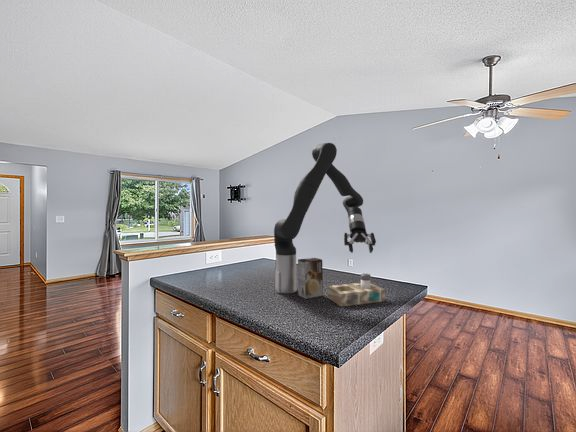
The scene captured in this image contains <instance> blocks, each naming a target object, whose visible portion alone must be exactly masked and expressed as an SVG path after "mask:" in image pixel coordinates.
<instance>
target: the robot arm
mask: <svg viewBox="0 0 576 432" xmlns="http://www.w3.org/2000/svg"><path fill="white" fill-rule="evenodd" d="M337 152H338V149H337V147H336V145H335V144H334V143H332V142H325V143H319V144H316V145H315V146H314V147H313V148H312V150H311V155H312V158H313V160H314V162H315V163H314V165H313V167H311V168H310V170H309V171H308V172H307V173H306V174H305V175H304V176H303V177H302V178H301V179H300V182H299V184H298V185H297V186H296V189H295V190H294V194H293V195H294V196H293V202H292V203H293V204H292V207H291V210H290V212H289V213H288V215H287V217H286V218H285V219H284V218H283V219H280V220H278V221H277V222H276V223H275V224H274V228H273V235H274V236H273V237H274V239H273V240H274V241H273V242H274V248H275V254H276V256H275V257H276V259H275V260H276V268H275V271H274V273H275V274H274V275H275V277H274V283H275V284H274V285H275V291H276V293H278V294H292V293H295V292H297V248H296V247H295V245H294V243H293V240H294V239H295V238H297V236H298V234H299V232H300V230H301V228H302V224H303V223H304V220H305V219H304V218H305V217H306V214H307V212H308V210H309V208H310V206H311V204H312V202H313V200H314V199H315V197H316V194H317V193H318V190H319V188H320V186H321V183H322V182H323V180H324V178H325V176H326V175H327V176H328V178H329V180H331V182H332V183H333V185H334V186H335V188H336V190H337V191H338V192H339V195H340V196H341V197H345V198H344V199H343V201H342V206H343V208H344V209H345V210H346V213H347V218H348V227H349V232H350V233H347V232H344V235H343V241H344V246H345V247H346V246H347V247H348V250H349V253H352V254H353V252H354V248H353V245H354V244H355V243H356V244H357V243H364V244H365V245H367V246H368V251H369V254H372V253H373V251H374V248H373V247H374V246H376V243H377V241H376V237H375V233H374V232H371V233H367V230H366V224H365V220H364V217H363V212H362V209H361V208H360V207H362V206H363V205H364V198H363V197H362V195H361V194H360V193H359V192H357V190H355V188H354V187H353V186H352V185H351V183H350V181H349V180H348V178H347V177H346V175H344V173H342V172H341V171H340V170H339V169H338V168H336V167H335V165H334V164H333V163H334V161H335V160H336V157H337ZM349 238H350V240H349V241H348V239H349Z"/></svg>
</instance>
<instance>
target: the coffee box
mask: <svg viewBox="0 0 576 432" xmlns="http://www.w3.org/2000/svg"><path fill="white" fill-rule="evenodd" d="M323 270H324V269H323V259H322V258H316V257H306V258H299V259H297V278H298V280H297V282H298V283H297V284H298V285H297V286H298V289H297V290H298V296H299V297H301V298H302V299H312V298H317V297H323V296H324V286H323V284H324V283H323V282H324V281H323V279H324V278H323V277H324V276H323Z"/></svg>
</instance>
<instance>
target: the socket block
mask: <svg viewBox="0 0 576 432" xmlns="http://www.w3.org/2000/svg"><path fill="white" fill-rule="evenodd" d="M327 298H328V299H329V300H331V301H332V302H334V303H335V304H337V305H338V306H340V307H347V306H348V307H350V306H356V305H366V304H374V303H381V302H382V301H383V302H386V289H385V288H383V287H381V286H379V285H376V284H373V283H372V282H370V289H362V288H361V282H355V283H353V282H352V283H347V284H346V283H344V284H334V285H333V284H332V285H327Z"/></svg>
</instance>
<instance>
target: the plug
mask: <svg viewBox="0 0 576 432" xmlns="http://www.w3.org/2000/svg"><path fill="white" fill-rule="evenodd" d="M360 283H361V288H362V289H370V283H371V274H369V273H361V274H360Z"/></svg>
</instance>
